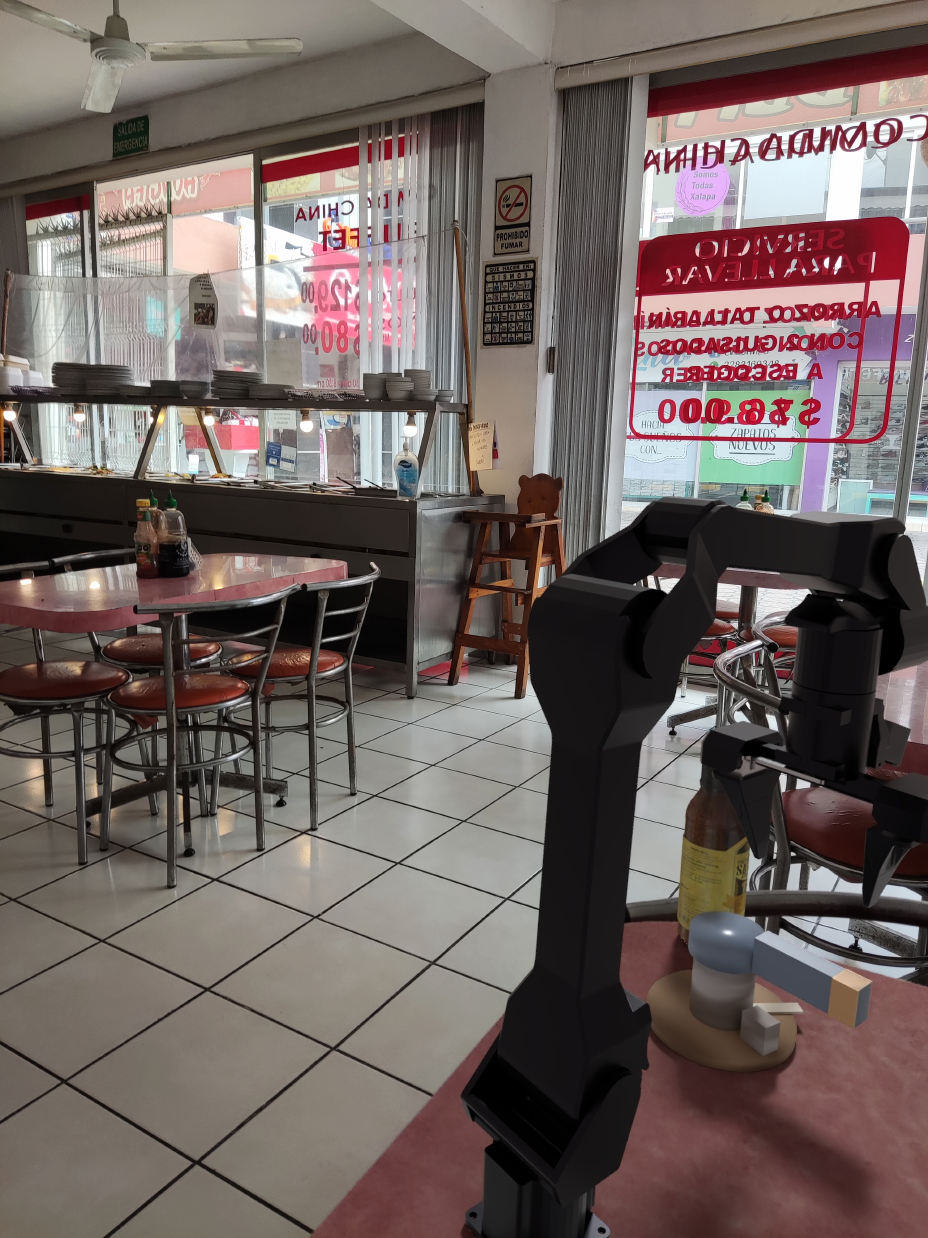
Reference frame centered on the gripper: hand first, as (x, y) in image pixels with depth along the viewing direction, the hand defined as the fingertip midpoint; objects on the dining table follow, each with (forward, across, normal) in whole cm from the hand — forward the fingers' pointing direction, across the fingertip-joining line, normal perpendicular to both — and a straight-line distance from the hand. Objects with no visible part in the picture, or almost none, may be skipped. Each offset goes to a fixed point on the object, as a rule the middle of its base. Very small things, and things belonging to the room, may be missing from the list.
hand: (811, 880), depth 68 cm
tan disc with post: (+15, +6, +2) cm, 16 cm away
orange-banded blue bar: (+8, +1, +2) cm, 9 cm away
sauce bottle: (+15, +14, -8) cm, 22 cm away
